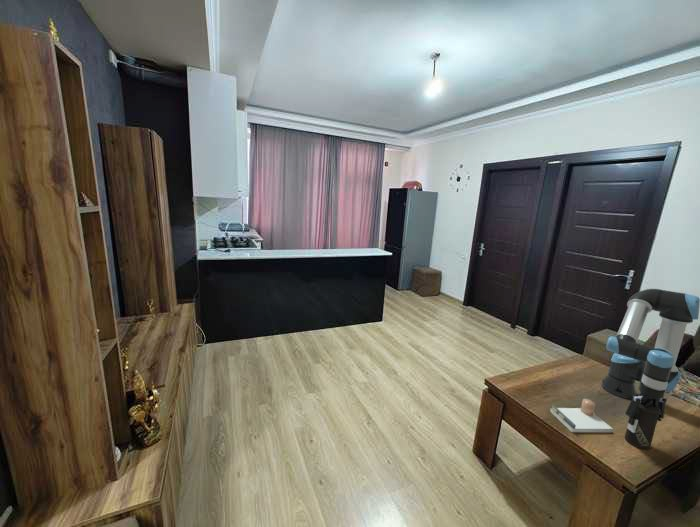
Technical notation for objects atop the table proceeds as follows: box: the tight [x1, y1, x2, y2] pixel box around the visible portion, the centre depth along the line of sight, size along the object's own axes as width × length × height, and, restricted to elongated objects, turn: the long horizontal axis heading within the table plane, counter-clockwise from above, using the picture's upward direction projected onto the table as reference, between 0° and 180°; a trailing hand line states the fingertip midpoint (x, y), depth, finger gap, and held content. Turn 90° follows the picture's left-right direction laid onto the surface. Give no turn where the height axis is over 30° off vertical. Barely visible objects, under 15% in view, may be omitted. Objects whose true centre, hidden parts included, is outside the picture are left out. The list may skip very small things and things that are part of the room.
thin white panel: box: [549, 404, 614, 433], centre depth 140 cm, size 20×14×4 cm
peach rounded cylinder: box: [580, 398, 596, 416], centre depth 144 cm, size 5×5×6 cm
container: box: [624, 403, 661, 450], centre depth 127 cm, size 9×9×20 cm
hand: (640, 430), depth 128 cm, fingers closed on container, 8 cm apart
